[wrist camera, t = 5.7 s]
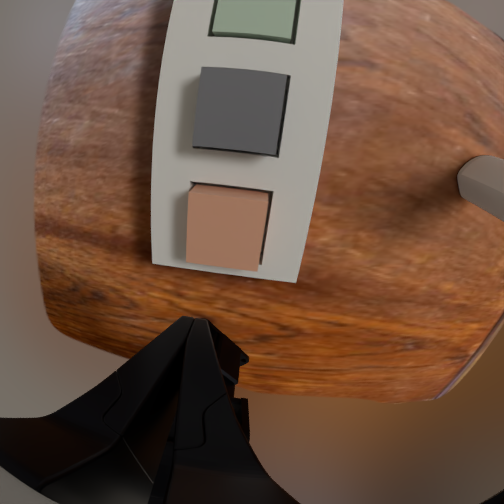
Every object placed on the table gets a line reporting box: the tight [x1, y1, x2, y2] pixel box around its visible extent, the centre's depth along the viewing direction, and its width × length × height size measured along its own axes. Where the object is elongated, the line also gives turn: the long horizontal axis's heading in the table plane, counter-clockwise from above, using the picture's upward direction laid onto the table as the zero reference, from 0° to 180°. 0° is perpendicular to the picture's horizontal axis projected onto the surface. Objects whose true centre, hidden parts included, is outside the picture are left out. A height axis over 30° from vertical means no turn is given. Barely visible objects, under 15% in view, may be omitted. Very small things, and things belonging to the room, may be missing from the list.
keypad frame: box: [151, 0, 343, 283], centre depth 15 cm, size 21×10×3 cm, turn 173°
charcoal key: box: [192, 67, 287, 155], centre depth 14 cm, size 4×4×2 cm
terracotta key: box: [186, 184, 268, 272], centre depth 17 cm, size 4×4×2 cm
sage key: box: [212, 0, 296, 44], centre depth 12 cm, size 4×4×2 cm
